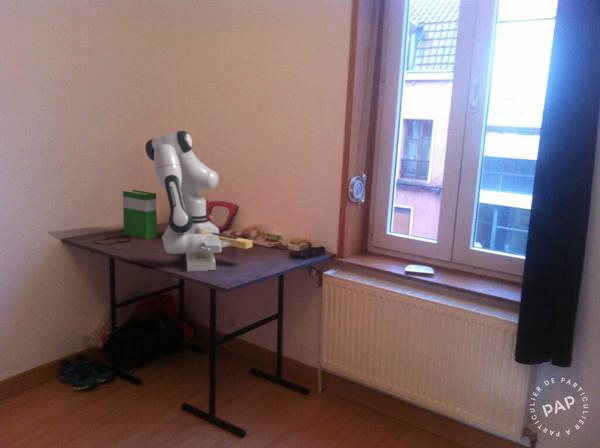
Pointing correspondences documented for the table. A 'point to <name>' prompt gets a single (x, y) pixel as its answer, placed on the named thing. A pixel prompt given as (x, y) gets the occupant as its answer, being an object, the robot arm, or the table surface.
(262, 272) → the table surface
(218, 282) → the table surface
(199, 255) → the two-drawer filing cabinet
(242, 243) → the light wooden bar
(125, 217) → the hardback book
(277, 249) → the table surface
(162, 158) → the robot arm
